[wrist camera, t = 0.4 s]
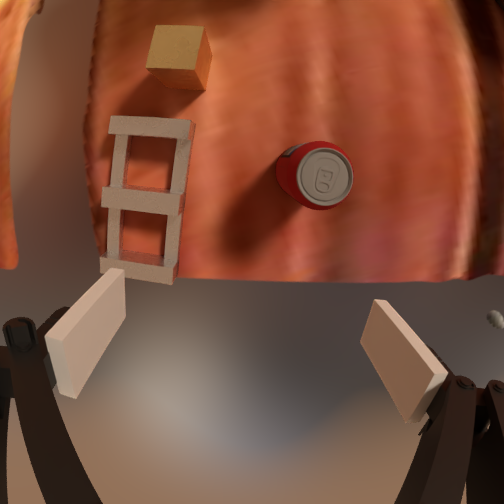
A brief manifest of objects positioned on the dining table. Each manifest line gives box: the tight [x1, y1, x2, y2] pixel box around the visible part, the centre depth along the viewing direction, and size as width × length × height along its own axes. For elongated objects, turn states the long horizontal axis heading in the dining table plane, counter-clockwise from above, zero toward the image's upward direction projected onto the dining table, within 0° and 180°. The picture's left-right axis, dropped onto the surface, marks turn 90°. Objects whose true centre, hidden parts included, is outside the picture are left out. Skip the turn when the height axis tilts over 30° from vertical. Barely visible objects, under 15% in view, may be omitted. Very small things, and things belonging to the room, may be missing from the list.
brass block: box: [145, 25, 212, 91], centre depth 29 cm, size 5×5×10 cm
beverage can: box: [276, 141, 354, 210], centre depth 33 cm, size 7×7×12 cm
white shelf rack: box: [100, 116, 196, 285], centre depth 37 cm, size 20×10×4 cm, turn 171°
